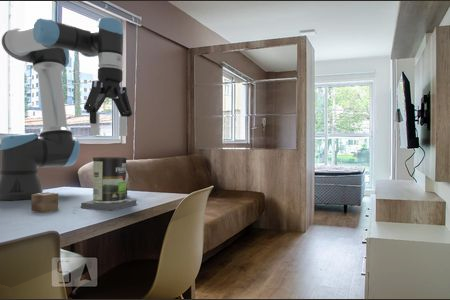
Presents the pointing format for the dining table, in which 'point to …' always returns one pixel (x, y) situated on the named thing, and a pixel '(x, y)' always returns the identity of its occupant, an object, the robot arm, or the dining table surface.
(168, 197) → the dining table surface
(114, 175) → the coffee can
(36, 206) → the marked cube
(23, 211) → the dining table surface
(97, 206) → the mat
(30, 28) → the robot arm
